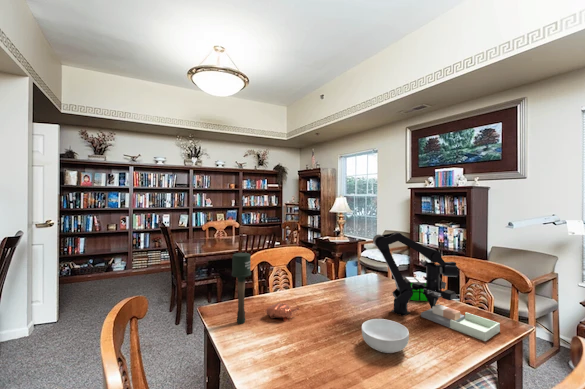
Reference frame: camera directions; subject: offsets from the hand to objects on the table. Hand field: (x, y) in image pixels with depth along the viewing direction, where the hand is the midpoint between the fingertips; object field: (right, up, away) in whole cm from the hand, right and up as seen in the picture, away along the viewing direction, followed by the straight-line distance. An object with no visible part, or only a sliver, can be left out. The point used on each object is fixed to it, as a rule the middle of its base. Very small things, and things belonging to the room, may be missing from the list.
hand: (432, 308), depth 132 cm
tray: (+10, -3, -15) cm, 18 cm away
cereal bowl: (-32, -3, -29) cm, 43 cm away
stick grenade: (-89, -2, -10) cm, 90 cm away
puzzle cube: (+2, -3, +22) cm, 22 cm away
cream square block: (+2, -1, -3) cm, 4 cm away
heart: (-71, -3, -3) cm, 72 cm away
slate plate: (+3, -3, -4) cm, 6 cm away
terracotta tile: (+5, -1, -7) cm, 9 cm away
